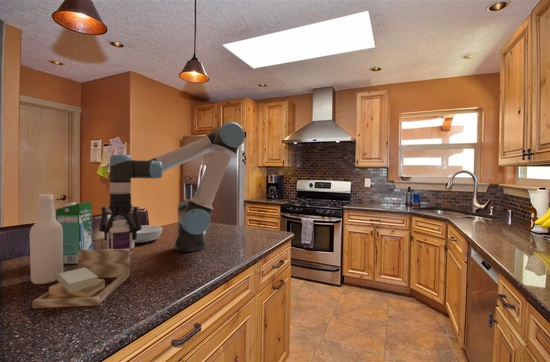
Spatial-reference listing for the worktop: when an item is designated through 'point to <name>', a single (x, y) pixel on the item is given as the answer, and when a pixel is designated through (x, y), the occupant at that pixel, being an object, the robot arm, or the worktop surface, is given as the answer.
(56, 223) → the alcohol
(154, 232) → the serving bowl
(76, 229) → the milk carton
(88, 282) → the offcut top
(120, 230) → the pill bottle
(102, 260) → the rack
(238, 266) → the worktop surface
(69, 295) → the block
